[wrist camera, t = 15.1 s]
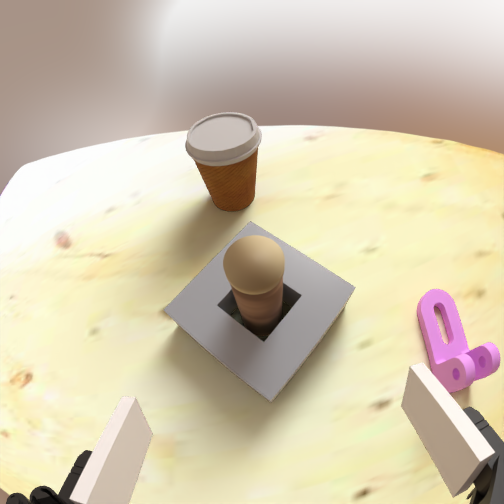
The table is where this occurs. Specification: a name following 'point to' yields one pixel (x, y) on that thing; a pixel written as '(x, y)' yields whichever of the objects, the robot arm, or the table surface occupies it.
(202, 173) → the disposable coffee cup
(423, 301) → the bracket
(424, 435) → the robot arm
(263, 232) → the socket block
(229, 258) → the walnut pin
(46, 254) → the table surface
